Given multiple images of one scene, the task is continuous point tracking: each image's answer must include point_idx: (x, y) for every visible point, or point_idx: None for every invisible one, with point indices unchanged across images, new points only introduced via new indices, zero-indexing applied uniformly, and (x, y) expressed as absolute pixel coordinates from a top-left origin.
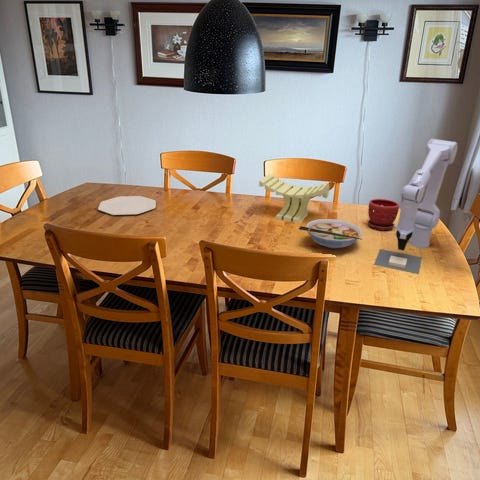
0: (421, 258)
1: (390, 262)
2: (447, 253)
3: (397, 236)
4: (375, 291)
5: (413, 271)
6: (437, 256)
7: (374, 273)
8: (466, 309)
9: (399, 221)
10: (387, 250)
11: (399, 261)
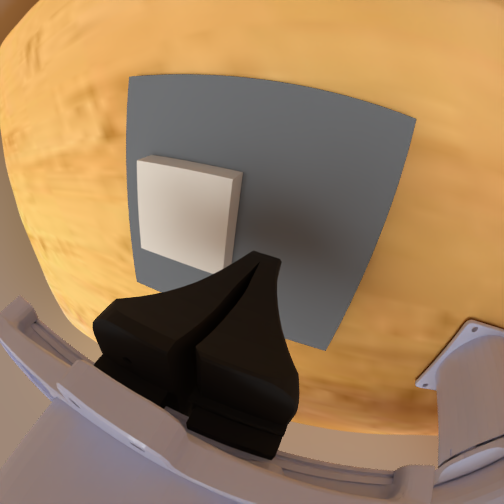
0: (309, 345)
1: (138, 169)
2: (390, 418)
3: (129, 304)
4: (22, 129)
5: (147, 268)
6: (364, 394)
7: (86, 98)
8: (74, 319)
9: (7, 480)
10: (398, 174)
11: (165, 223)
